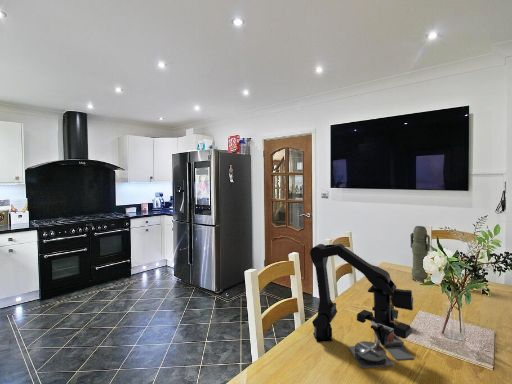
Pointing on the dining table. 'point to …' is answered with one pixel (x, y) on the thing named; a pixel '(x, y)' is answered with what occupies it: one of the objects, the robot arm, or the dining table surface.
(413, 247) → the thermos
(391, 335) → the pink rounded cylinder
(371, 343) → the handwheel
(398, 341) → the collar
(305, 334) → the dining table surface
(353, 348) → the wheel base
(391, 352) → the mat
